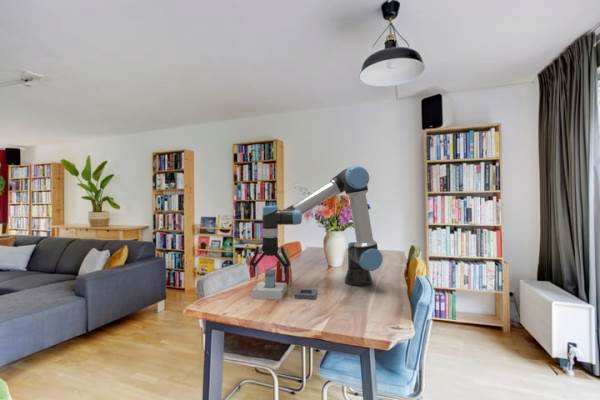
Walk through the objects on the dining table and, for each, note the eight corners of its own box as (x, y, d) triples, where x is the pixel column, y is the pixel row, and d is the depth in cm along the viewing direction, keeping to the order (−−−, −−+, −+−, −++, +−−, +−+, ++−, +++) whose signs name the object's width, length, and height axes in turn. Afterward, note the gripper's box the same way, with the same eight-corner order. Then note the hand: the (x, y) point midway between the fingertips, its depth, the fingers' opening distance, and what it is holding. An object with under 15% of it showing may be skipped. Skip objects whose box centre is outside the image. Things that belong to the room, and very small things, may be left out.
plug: (275, 293, 147) (275, 269, 147) (273, 295, 143) (273, 271, 143) (267, 293, 148) (267, 269, 148) (265, 295, 144) (265, 271, 144)
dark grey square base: (317, 293, 148) (317, 289, 148) (315, 299, 138) (315, 295, 138) (297, 292, 149) (297, 288, 149) (294, 298, 139) (294, 294, 139)
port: (286, 290, 152) (286, 282, 152) (281, 299, 138) (281, 290, 138) (260, 289, 153) (260, 281, 153) (252, 298, 139) (252, 289, 139)
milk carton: (292, 282, 168) (292, 247, 168) (290, 286, 159) (290, 249, 159) (276, 281, 169) (276, 246, 169) (273, 286, 160) (273, 249, 160)
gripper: (296, 236, 148) (296, 278, 148) (248, 235, 151) (248, 277, 151) (293, 238, 140) (293, 282, 140) (243, 237, 144) (243, 280, 143)
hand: (270, 279), depth 146 cm, fingers open, 13 cm apart
